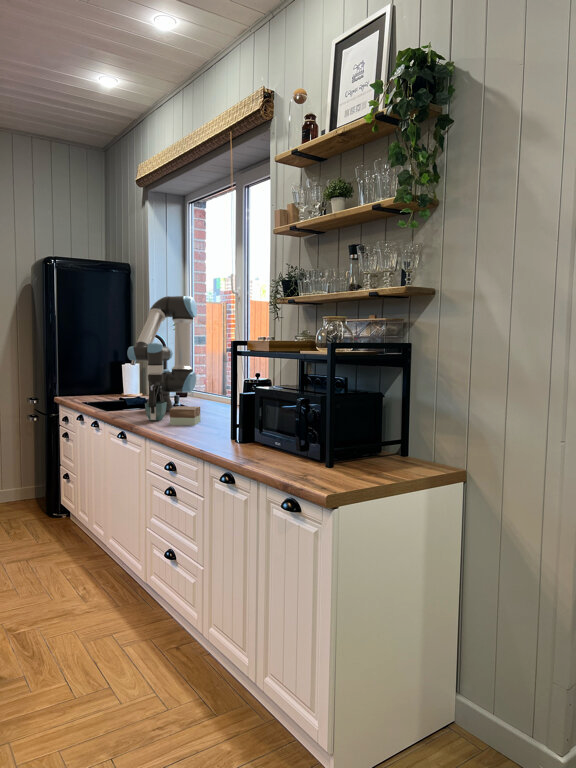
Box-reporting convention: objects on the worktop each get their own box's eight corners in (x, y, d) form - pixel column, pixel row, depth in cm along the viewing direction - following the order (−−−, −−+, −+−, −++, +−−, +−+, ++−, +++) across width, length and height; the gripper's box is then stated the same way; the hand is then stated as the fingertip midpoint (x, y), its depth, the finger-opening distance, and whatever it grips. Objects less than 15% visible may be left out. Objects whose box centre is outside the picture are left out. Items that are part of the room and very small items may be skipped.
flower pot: (167, 419, 299) (167, 401, 298) (162, 421, 290) (161, 403, 289) (150, 418, 300) (150, 401, 299) (144, 421, 291) (144, 403, 290)
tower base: (176, 422, 292) (176, 414, 292) (200, 422, 291) (200, 414, 291) (170, 425, 280) (170, 417, 280) (194, 426, 279) (194, 417, 279)
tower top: (176, 414, 292) (176, 406, 292) (200, 414, 291) (200, 406, 290) (169, 417, 280) (169, 409, 280) (194, 417, 279) (194, 409, 279)
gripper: (154, 372, 304) (155, 415, 306) (141, 375, 283) (142, 421, 285) (168, 372, 303) (169, 415, 305) (156, 375, 282) (157, 421, 284)
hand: (156, 418), depth 295 cm, fingers closed on flower pot, 8 cm apart
